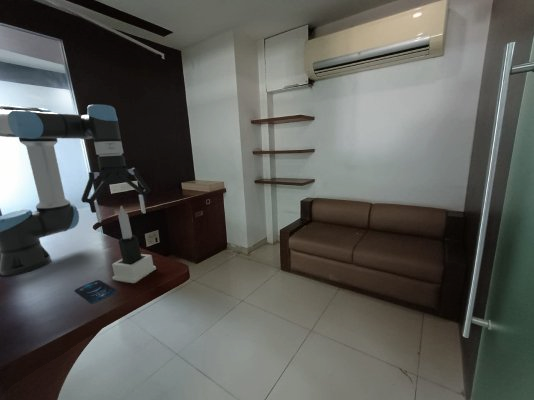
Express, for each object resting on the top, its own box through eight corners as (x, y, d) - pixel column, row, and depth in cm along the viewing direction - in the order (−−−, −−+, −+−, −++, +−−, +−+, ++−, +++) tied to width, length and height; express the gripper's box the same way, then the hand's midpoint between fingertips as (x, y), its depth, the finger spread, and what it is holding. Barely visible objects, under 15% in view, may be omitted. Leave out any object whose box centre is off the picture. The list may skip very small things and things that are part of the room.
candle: (131, 276, 83) (116, 208, 78) (124, 272, 86) (109, 207, 80) (145, 269, 87) (132, 204, 82) (137, 266, 90) (125, 203, 85)
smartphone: (98, 279, 85) (118, 290, 77) (99, 280, 85) (118, 292, 77) (72, 290, 79) (91, 304, 71) (73, 291, 79) (91, 305, 71)
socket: (113, 280, 84) (109, 264, 83) (136, 266, 93) (133, 252, 92) (134, 283, 81) (131, 267, 79) (156, 268, 90) (153, 254, 89)
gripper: (61, 158, 67) (78, 228, 71) (154, 153, 83) (162, 210, 88) (61, 157, 72) (77, 223, 77) (147, 153, 88) (156, 207, 93)
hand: (122, 216), depth 82 cm, fingers open, 13 cm apart
